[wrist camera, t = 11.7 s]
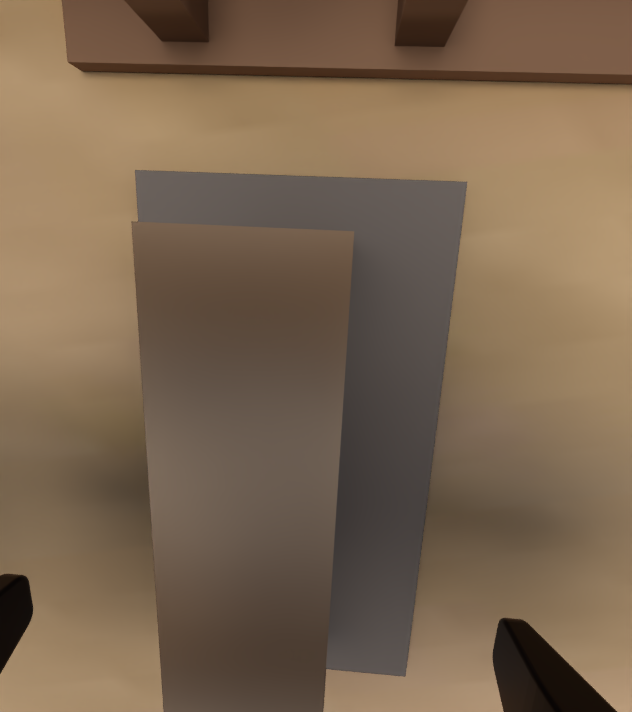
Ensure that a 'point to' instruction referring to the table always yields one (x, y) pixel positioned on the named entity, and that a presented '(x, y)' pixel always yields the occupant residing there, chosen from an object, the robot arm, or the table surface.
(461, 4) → the offcut rack
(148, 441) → the plywood sheet
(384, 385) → the slate mat
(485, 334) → the table surface
